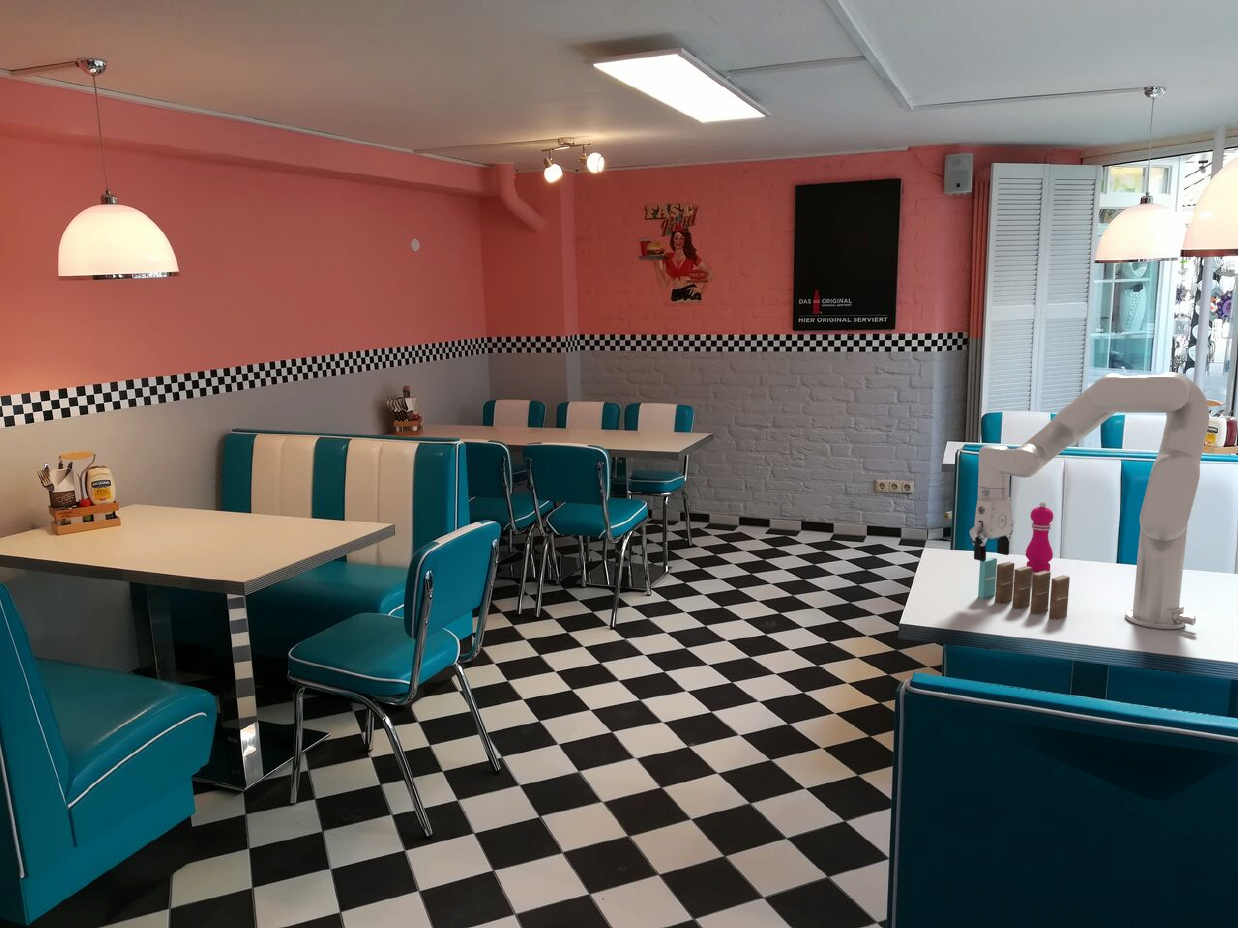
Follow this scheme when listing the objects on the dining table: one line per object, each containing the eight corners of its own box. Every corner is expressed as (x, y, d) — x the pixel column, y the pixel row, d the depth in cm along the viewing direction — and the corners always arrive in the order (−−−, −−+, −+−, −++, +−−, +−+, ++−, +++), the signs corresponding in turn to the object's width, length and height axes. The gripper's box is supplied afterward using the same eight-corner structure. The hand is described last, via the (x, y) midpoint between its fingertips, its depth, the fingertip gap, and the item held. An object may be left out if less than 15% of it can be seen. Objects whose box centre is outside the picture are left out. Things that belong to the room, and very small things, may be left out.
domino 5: (1066, 615, 225) (1069, 576, 224) (1055, 619, 223) (1058, 580, 221) (1060, 613, 227) (1063, 575, 225) (1048, 617, 224) (1051, 578, 222)
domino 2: (1012, 600, 238) (1014, 562, 236) (1000, 603, 235) (1002, 566, 233) (1006, 598, 239) (1008, 561, 238) (994, 601, 237) (997, 564, 235)
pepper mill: (1046, 565, 268) (1051, 499, 265) (1055, 572, 261) (1060, 504, 258) (1021, 565, 269) (1025, 499, 266) (1029, 572, 262) (1034, 504, 259)
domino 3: (1029, 605, 234) (1032, 567, 232) (1018, 608, 231) (1020, 570, 229) (1023, 603, 235) (1026, 565, 233) (1012, 607, 232) (1014, 569, 231)
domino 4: (1048, 610, 230) (1050, 572, 228) (1036, 614, 227) (1038, 575, 225) (1041, 608, 231) (1044, 570, 229) (1030, 612, 228) (1032, 573, 227)
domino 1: (994, 595, 242) (997, 558, 240) (983, 598, 239) (985, 561, 238) (989, 593, 243) (991, 557, 242) (977, 596, 241) (980, 560, 239)
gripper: (985, 499, 229) (983, 565, 231) (1026, 490, 238) (1024, 554, 241) (959, 495, 235) (958, 559, 238) (1001, 487, 244) (999, 549, 247)
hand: (991, 557), depth 239 cm, fingers open, 9 cm apart
